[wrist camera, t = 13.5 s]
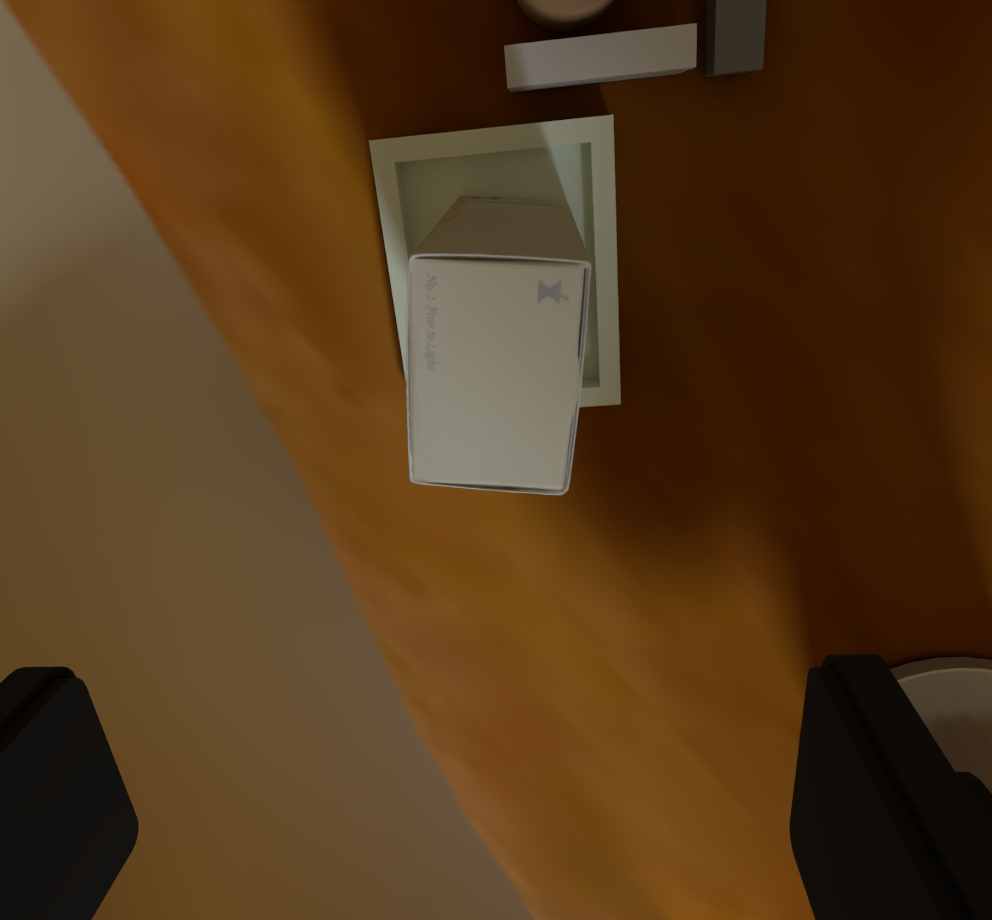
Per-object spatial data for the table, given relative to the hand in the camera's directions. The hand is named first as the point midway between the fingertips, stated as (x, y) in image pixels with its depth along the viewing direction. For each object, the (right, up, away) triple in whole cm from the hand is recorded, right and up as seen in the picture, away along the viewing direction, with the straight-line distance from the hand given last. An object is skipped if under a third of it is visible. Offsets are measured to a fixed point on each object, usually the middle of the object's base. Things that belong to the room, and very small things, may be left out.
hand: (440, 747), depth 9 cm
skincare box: (+1, +11, +19) cm, 22 cm away
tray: (+1, +11, +20) cm, 23 cm away
